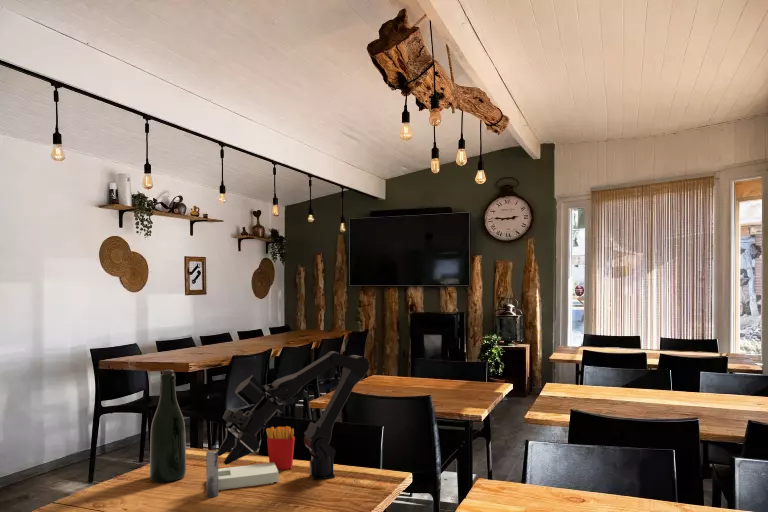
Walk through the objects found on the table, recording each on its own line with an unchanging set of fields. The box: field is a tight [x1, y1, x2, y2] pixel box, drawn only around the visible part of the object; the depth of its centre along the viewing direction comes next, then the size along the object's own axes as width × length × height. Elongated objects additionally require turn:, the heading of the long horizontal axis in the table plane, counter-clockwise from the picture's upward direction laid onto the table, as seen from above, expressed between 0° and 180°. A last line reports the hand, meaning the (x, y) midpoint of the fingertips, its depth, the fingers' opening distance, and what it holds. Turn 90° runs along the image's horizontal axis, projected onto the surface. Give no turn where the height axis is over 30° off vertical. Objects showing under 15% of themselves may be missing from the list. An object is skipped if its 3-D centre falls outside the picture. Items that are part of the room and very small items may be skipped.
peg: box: [205, 450, 219, 499], centre depth 161 cm, size 3×3×12 cm
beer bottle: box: [149, 369, 187, 483], centre depth 177 cm, size 10×10×33 cm
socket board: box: [218, 462, 280, 491], centre depth 172 cm, size 19×10×3 cm, turn 108°
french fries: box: [265, 425, 296, 470], centre depth 184 cm, size 9×4×13 cm, turn 85°
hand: (221, 459), depth 162 cm, fingers open, 9 cm apart
